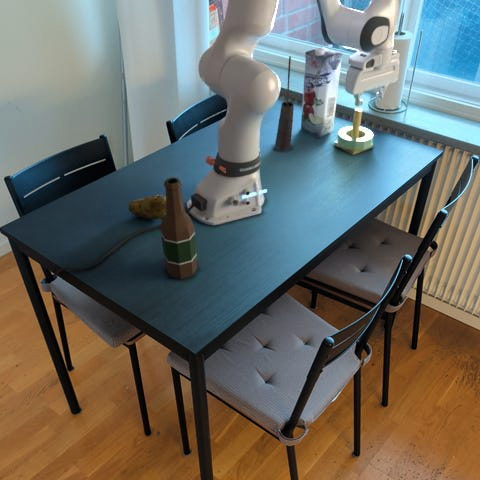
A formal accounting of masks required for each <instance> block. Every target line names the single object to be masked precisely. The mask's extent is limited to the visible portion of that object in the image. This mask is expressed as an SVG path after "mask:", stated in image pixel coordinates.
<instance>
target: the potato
mask: <svg viewBox="0 0 480 480" xmlns="http://www.w3.org/2000/svg"><path fill="white" fill-rule="evenodd" d="M166 209H167V205H166V195H164V194H153V195H148V196H146V197H144V198H138V199H133V200H132V201H130V202H129V204H128V211H129V212H130V214H132V216H135V217H141V218H143V219H148V220H158V219H159V220H161V221H162V220H163V218H164V216H165V215H166Z"/></svg>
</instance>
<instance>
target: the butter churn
mask: <svg viewBox="0 0 480 480" xmlns="http://www.w3.org/2000/svg"><path fill="white" fill-rule="evenodd" d="M291 61H292V56H291V55H289V56H288V68H287V70H288V71H287V88H286V89H287V91H286V101H282V102H281V105H280V106H281V107H280V112H279V119H278V125H277V132H276V137H275V144H274V148H275V150H276V151H279V152H286V151H289V150H290V149H292V148H291V147H292V136H293V135H292V134H293V131H292V130H293V122H294V107H295V106H294V102H292V101H289V99H290V97H289V95H290V94H289V93H290V79H291V78H290V77H291V76H290V75H291V63H292V62H291Z"/></svg>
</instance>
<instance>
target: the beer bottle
mask: <svg viewBox="0 0 480 480" xmlns="http://www.w3.org/2000/svg"><path fill="white" fill-rule="evenodd" d="M182 185H183V184H182V182H181V180H180V178H178V177H168V178H166V180H165V181H164V182H163V186H164V188H165V197H166V205H167V209H166V215H165V216H164V218H163V220H161V222H160V225H161V227H160V236H161V237H160V238H161V243H162V251H163V252H162V253H163V259H164V264H165V270H166V271H167V274H169V277H171V278H173V279H174V278H175V279H179V280H184V279H188V278H191V277H193V276H194V274H195V273H196V272H197V270H198V252H197V241H196V230H195V225H194V222H193V221H192V219H191V217H190V215H189V216H188V214H187V213H186V212H187V211H186V209H185V206H184V205H185V204H184V200H183V194H182V187H181V186H182Z"/></svg>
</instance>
